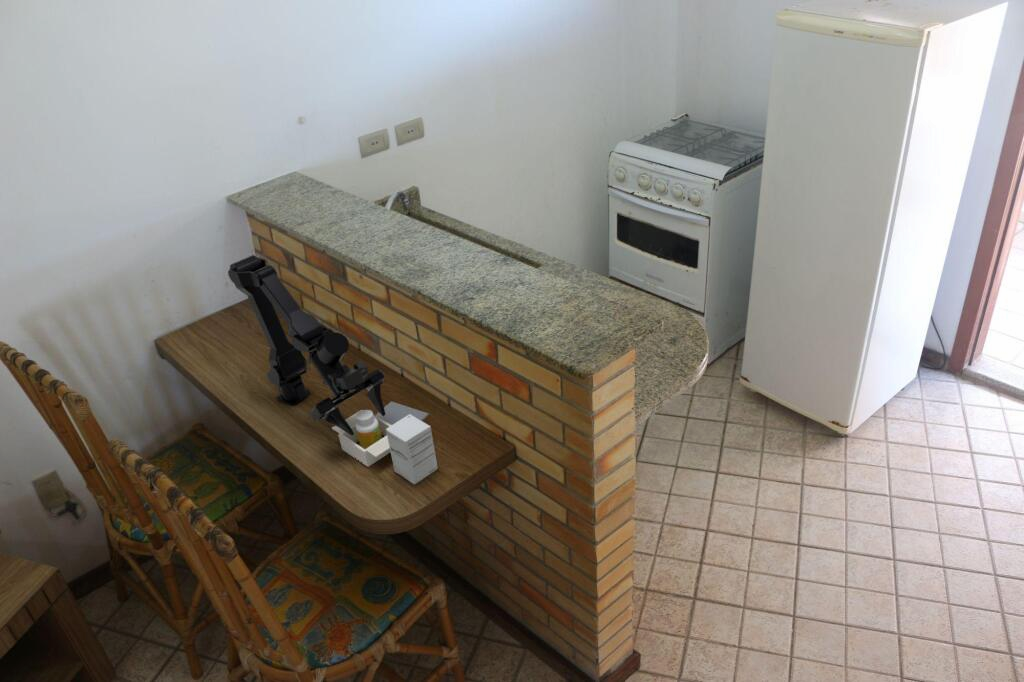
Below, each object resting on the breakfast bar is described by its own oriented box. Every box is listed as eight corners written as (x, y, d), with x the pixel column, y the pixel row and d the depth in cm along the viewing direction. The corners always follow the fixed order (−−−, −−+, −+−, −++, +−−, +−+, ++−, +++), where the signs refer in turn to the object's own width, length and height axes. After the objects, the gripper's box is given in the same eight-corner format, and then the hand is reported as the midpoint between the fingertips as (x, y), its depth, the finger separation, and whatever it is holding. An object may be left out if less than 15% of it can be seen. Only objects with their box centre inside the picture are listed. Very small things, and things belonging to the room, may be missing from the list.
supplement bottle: (379, 454, 197) (372, 422, 192) (357, 454, 198) (349, 421, 193) (386, 440, 202) (378, 407, 197) (364, 439, 203) (357, 407, 198)
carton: (333, 443, 203) (329, 429, 200) (367, 423, 208) (363, 408, 206) (377, 473, 192) (373, 458, 189) (411, 450, 198) (408, 435, 195)
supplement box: (393, 472, 192) (384, 428, 185) (418, 455, 196) (410, 412, 189) (414, 486, 187) (404, 441, 180) (439, 469, 191) (431, 425, 184)
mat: (371, 420, 209) (371, 418, 209) (391, 403, 215) (391, 401, 214) (409, 433, 203) (408, 431, 203) (428, 415, 209) (428, 413, 208)
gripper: (306, 376, 185) (346, 435, 184) (373, 339, 196) (411, 394, 194) (295, 393, 194) (332, 448, 193) (359, 357, 205) (395, 409, 204)
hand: (369, 424), depth 196 cm, fingers open, 9 cm apart
